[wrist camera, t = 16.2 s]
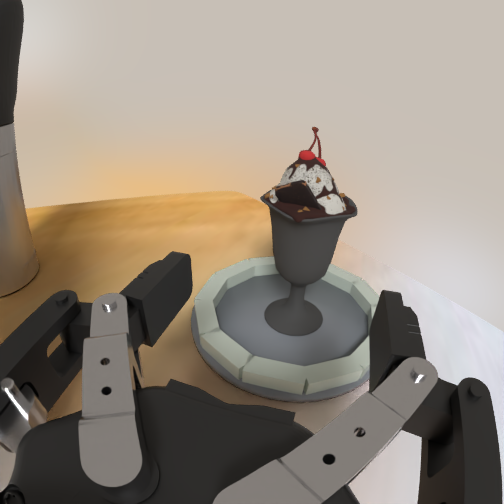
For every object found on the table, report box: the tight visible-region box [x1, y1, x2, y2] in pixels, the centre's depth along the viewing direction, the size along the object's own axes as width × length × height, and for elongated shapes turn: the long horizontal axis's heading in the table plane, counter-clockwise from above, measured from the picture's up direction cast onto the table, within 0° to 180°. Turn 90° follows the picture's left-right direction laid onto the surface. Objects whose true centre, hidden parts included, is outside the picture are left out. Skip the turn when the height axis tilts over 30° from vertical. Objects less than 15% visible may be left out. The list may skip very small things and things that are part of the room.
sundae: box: [261, 127, 357, 336], centre depth 22 cm, size 7×7×15 cm
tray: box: [191, 256, 379, 402], centre depth 25 cm, size 17×17×2 cm
